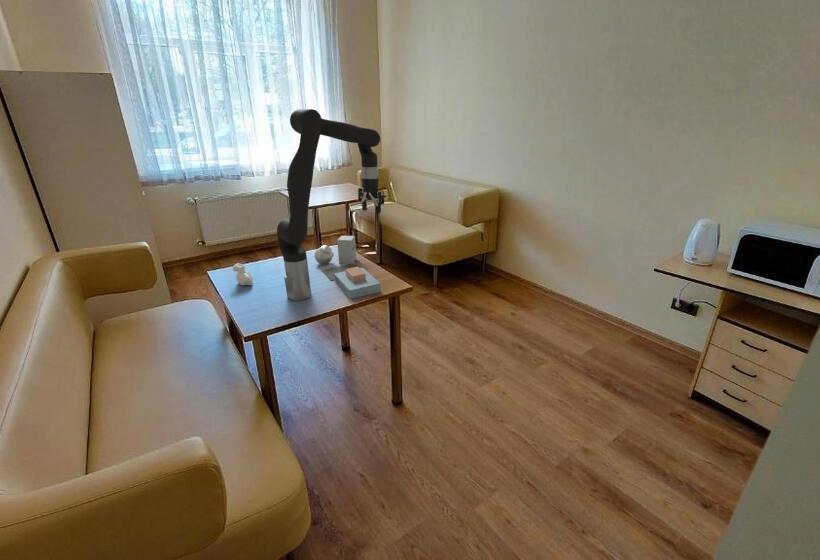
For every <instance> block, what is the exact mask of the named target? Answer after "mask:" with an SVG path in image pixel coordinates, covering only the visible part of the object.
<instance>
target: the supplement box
mask: <svg viewBox="0 0 820 560" xmlns="http://www.w3.org/2000/svg"><path fill="white" fill-rule="evenodd" d="M336 244H337V252H338V264H344V265H349V264H354V262H355V261H356V260H357V251H356V250H357V248H356V236H355V235H341V236H340V237H339V238H337V242H336Z"/></svg>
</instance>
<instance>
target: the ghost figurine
mask: <svg viewBox="0 0 820 560" xmlns="http://www.w3.org/2000/svg"><path fill="white" fill-rule="evenodd" d="M332 250H333V249H332V248H331V247H330V246H328V245H326V244H325V245H322V246H321V247H319V248H317V249H316V250H315V252H314V259H315V262H317V263H318V264H319V265H322V266H323V265H327V264H328V265H329V264H330V263H331V261H332V260H333V258H334V255H335V254H334V252H332Z"/></svg>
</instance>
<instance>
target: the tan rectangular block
mask: <svg viewBox="0 0 820 560" xmlns="http://www.w3.org/2000/svg"><path fill="white" fill-rule="evenodd" d="M360 268H361V267H359V266H358V267H353V268H349V269H345V271H346V276H347V277H348V278H349V279H350V280H351V281H352V282H353V283H354V282H358V281H363V280H366V274H365V273H364V272H363V271H362V270H361V269H360Z"/></svg>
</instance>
